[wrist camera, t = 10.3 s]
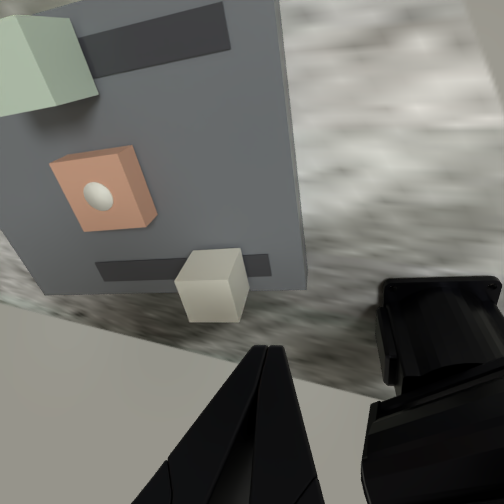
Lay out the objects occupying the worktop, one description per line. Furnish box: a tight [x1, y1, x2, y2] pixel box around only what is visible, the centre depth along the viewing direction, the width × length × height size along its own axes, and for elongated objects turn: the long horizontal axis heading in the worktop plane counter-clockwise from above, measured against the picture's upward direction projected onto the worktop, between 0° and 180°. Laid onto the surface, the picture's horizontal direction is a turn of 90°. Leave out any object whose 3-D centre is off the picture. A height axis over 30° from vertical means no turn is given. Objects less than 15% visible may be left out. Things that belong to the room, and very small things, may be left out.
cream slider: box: [174, 248, 250, 322], centre depth 19 cm, size 3×3×3 cm
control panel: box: [0, 0, 308, 295], centre depth 19 cm, size 20×16×2 cm
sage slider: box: [0, 15, 99, 117], centre depth 14 cm, size 3×3×3 cm
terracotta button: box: [49, 145, 158, 232], centre depth 18 cm, size 4×4×2 cm
